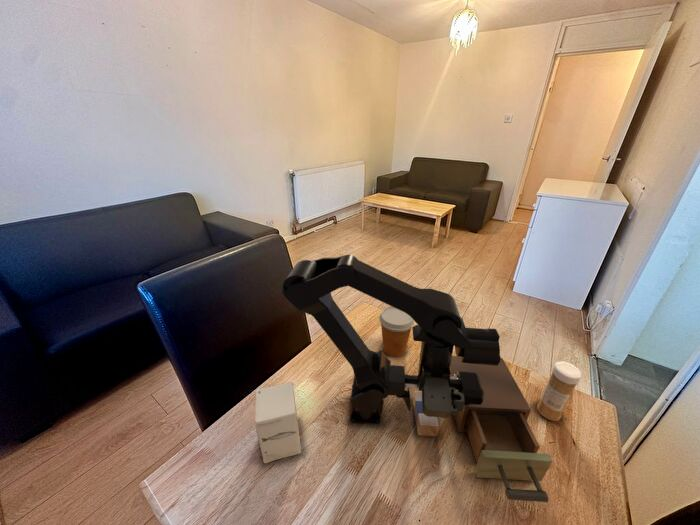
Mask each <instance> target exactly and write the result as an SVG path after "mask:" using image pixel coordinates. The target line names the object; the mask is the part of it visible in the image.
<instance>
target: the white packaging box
mask: <svg viewBox="0 0 700 525" xmlns="http://www.w3.org/2000/svg"><path fill="white" fill-rule="evenodd" d="M295 394H296V393H295V387H294V381H289V382H283V383H280V384H276V385H271V386H266V387H261V388H256V389H255V390H254V425H255V429H256V435H257V438H258V444H259V447H260V452H261V456H262V457H261V458H262V460H263V464H267V463H268V464H269V463H271V462H273V461H277V460H281V459H285V458H289V457H292V456H296V455H299V454H302V446H301V439H300V438H301V437H300V428H299V420H298V412H297V405H296V404H297V402H296V395H295Z"/></svg>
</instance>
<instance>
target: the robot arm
mask: <svg viewBox="0 0 700 525" xmlns="http://www.w3.org/2000/svg"><path fill="white" fill-rule="evenodd" d="M345 287H349V288H352V289H353V290H356V291H358V292H360V293H363V294H365V295H367V296H369V297H371V298H372V299H375V300H377V301H379V302H381V303H383V304H385V305H388V306H392V307H394V308H396V309H398V310H400V311H403V312H405V313H406V314H408V315H409V316H410V317H411V318H412V319H413V320H414V321H415V322H414V323H416V325H415V324H414V325H413V326H412V328H411V331H412V340H413V341H414V342H421V344H420V353H419V361H418V370H417V375H413V374H407V373H405V370H406V369H405V365H395V364H394V365H393V364H391V360H390V359H389V358H387V356H386V354H385V352H384V350H382V349H380V350H378V351H374V350H371V349H369V347H368V345H367V344H366V343H365V342H364V341H363V338H362V337H361V336H360V334H359V333H358V332H357V330H356V329H355V327H354V326H353V325H352V323H351V322H350V321H349V320H348V318H347V317H346V315H345V314H344V312H343V311H342V310H341V309H340V306H339V305H338V303H336V301H335V300H334V299H333V296H332V293H333V292H335V291H336V290H339V289H341V288H345ZM281 292H282V294H283V296H284V298H285V299H286V300H287V301H288V302H289V303H290V304H292V305H293V306H294V307H295V308H296V309H297V310H298V311H299V312H301V313H305V314H307V315H310V316H312V317H313V319H314V320H315V321H316V323H318V325H319V326H320V327H321V329H322V330H323V332H324V333H325V334H326V335H327V337H328V338H329V339H330V341H331V342H332V343H333V344H334V346H335V347H336V348H337V350H338V351H339V352H340V353H341V355H342V356H343V357H344V358H345V360H346V361H347V363H348V364H349V365H350V367H351V368H352V371H353V382H352V384H351V392H350V399H349V402H350V405H351V406H350V419H349V420H350V423H351V424H364V425H380V424H381V415H383V411H384V400H385V399H386V398H388V397H389V396H392V397H396V398H398V399H403V401H404V403H405V405H406V408H407V410H408V412H411V411H412V401H411V389H417V391H422V411H423V413H424V415H426V416H429V417H438V418H440V419H448V418H449V417H450V416H454V415H456V416H458V411H459V412H462V411H463V409H464V405H469V404H476V405H481V404H482V403H483V400H484V391H483V388H482V385H481V382H480V379H479V376H478V375H477V374H476V373H472V372H461V371H457V375H454V376H453V377H450V373H451V372H450V364H451V359H452V356H453V352H455V356H458V357H461V362H462V363H471V364H482V365H493V366H497V365H498V364H499V362H500V359H501V358H502V357H501V347H500V338H501V337H500V334H499V332H498V330H497V329H496V328H489V327H488V328H478V327H466V325H465V322H464V319H463V318H462V316H461V315H460V312H459V308H458V306H457V303H456V300H455V298H454V297H453V296H452V295H451V294H449V293H447V292H444V291H440V290H437V289H433V288H419V287H417V286H414V285H411V284H410V283H407V282H405V281H403V280H401V279H399V278H397V277H395V276H393V275H391V274H388V273H386V272H384V271H382V270H381V269H378V268H375V267H374V266H372V265H369V264H367V263H366V262H363V261H362V260H359V259H358V258H357V257H356V256H354V255H353V254H345V255H341V256H337V257H322V258H318V259H314V260H309V259H302V260H300V261H298V262H296V264H295V265H294V266H293V268H292V269H291V270H290V272H289V274H288V275H287V276H286V277H285V280H284V281H283V283H282V289H281Z"/></svg>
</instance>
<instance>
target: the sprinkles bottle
mask: <svg viewBox="0 0 700 525" xmlns="http://www.w3.org/2000/svg"><path fill="white" fill-rule="evenodd" d="M582 374H583V373H582V372H581V370H580V369H579V368H578V367H576V365H574V364H572V363H570V362H567V361H557V362H555V363H554V365H553V367H552V372H551V375H550V377H549V379H548V381H547V383H546V385H545V388H544V390H543V392H542V395H541V398H540V400H539V402H538V403H537V404H536V405H537V406H536V407H537V408H536V409H537V411H538V413H539V414H540V415H541V416H542V417H544V418H545V419H546V420H549V421H553V422H556V421H559V420H561V418H562V414H563V412H564V410H565V409H566V407H567V405H568V403H569V401H570V398H571V396H572V394H573V392H574V390H575V388H576V386H578V384H579V383H580V381H581V379H582V376H583V375H582Z"/></svg>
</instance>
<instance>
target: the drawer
mask: <svg viewBox="0 0 700 525" xmlns="http://www.w3.org/2000/svg"><path fill="white" fill-rule="evenodd" d="M465 427H466V430H467V432H466V433H467V436H468V440H469V442H470V446H471V449H472V452H473V455H474V458H475V462H477V463H476V465H475V467H474V472H475V476H476V478H484V479H485V478H487V479H499V480H500V479H501V480H502V482H503V485H504V487H505V489H504V490H505V496H506V499H507V500H509V501H521V502H522V501H523V502H537V503H549V496H548V493H547V492H546V491H545V490H543V489H542V486H541V484H540V482H543V480H544V478H545V476H546V474H547V472H548V471H549V469H550V467H551V465H552V463H553V459H552V457H551V455H550V453H540V452H539V449H540V448H541V445H540V443H539V442H538V439H537V438H536V436H535V434H534V432H533V430H532V429H531V426H530V423H529V422H528V419H527V420H526V419H525V417H524V415H523V413H522V412H509V411H490V410H471V409H469V411H468V415H467V418H466V422H465ZM509 480H517V481H518V480H519V481H531V482H533V484H534V486H535V489H536V490H534V489H533V490H532V489H522V488H521V489H520V488H519V489H518V488H511V485H510V482H509Z"/></svg>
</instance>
